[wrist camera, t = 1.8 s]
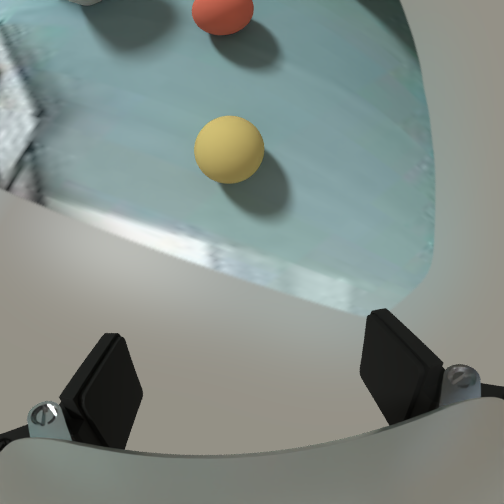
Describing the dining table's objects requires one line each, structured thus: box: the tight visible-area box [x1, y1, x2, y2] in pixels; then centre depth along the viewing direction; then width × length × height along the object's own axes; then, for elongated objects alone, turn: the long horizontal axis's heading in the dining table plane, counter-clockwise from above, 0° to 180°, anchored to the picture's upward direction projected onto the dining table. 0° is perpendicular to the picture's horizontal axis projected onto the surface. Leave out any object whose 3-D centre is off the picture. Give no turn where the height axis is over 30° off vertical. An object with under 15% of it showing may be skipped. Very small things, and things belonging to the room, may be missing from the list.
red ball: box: [192, 0, 254, 35], centre depth 18 cm, size 6×6×6 cm
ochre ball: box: [194, 116, 264, 184], centre depth 21 cm, size 6×6×6 cm
